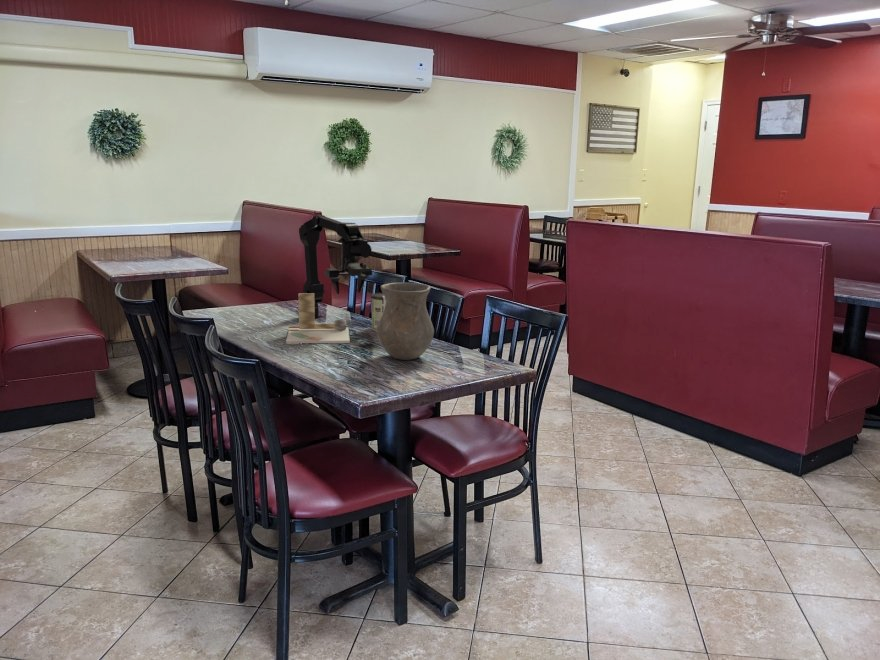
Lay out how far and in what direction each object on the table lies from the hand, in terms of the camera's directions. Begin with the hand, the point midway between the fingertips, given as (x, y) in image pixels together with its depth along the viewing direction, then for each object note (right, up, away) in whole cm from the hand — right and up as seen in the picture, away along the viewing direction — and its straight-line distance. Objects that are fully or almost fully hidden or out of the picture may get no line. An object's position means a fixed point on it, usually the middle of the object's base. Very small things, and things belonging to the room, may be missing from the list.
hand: (348, 293), depth 280 cm
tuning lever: (-11, -14, -9) cm, 20 cm away
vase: (+25, -24, -41) cm, 54 cm away
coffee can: (+14, -15, 0) cm, 21 cm away
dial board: (-9, -17, -15) cm, 25 cm away
